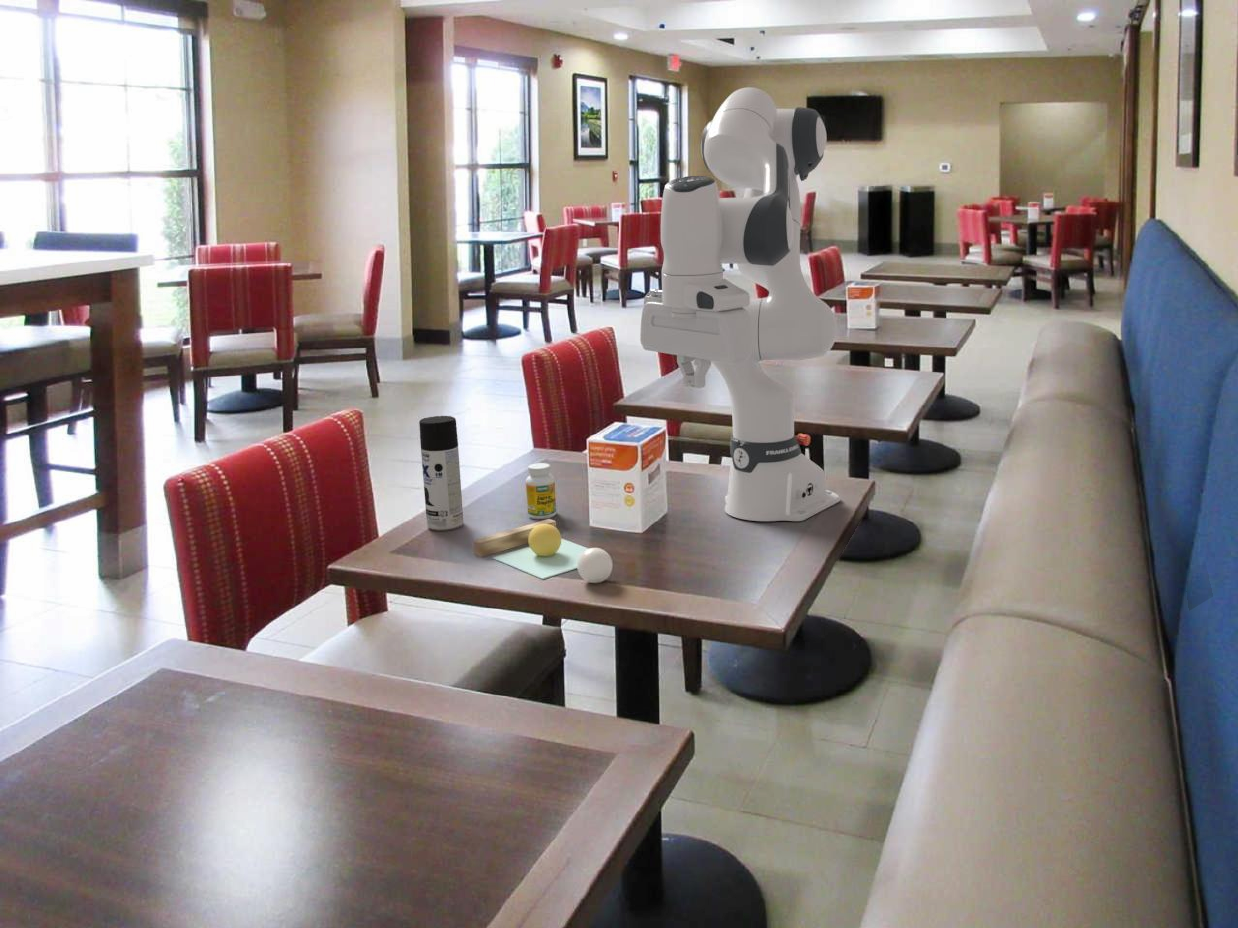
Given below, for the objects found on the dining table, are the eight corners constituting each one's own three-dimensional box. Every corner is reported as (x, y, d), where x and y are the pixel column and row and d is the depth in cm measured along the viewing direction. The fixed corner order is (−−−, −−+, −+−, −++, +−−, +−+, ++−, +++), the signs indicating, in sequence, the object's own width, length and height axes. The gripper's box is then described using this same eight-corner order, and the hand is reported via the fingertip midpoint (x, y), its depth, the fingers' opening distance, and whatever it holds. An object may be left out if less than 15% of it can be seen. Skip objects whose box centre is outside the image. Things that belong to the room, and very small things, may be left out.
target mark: (559, 538, 203) (558, 537, 203) (610, 557, 193) (610, 556, 193) (492, 558, 195) (492, 557, 195) (542, 579, 184) (542, 578, 184)
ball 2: (616, 546, 180) (621, 572, 184) (588, 536, 183) (593, 562, 187) (596, 568, 177) (601, 594, 180) (567, 557, 180) (573, 583, 183)
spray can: (423, 523, 215) (414, 417, 209) (458, 517, 217) (450, 413, 212) (432, 533, 209) (423, 425, 203) (468, 527, 211) (460, 420, 206)
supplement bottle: (547, 509, 220) (544, 460, 218) (562, 515, 216) (559, 466, 213) (522, 514, 217) (519, 465, 215) (536, 521, 213) (533, 471, 211)
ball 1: (558, 514, 195) (572, 543, 193) (544, 529, 199) (558, 557, 197) (531, 522, 191) (545, 551, 190) (518, 536, 196) (531, 565, 194)
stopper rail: (549, 532, 207) (549, 518, 206) (556, 534, 205) (555, 521, 205) (474, 554, 197) (473, 540, 196) (480, 557, 196) (479, 543, 195)
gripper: (629, 290, 174) (632, 380, 178) (727, 300, 159) (728, 399, 162) (660, 285, 178) (662, 374, 181) (758, 295, 163) (759, 392, 166)
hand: (694, 386), depth 172 cm, fingers closed
